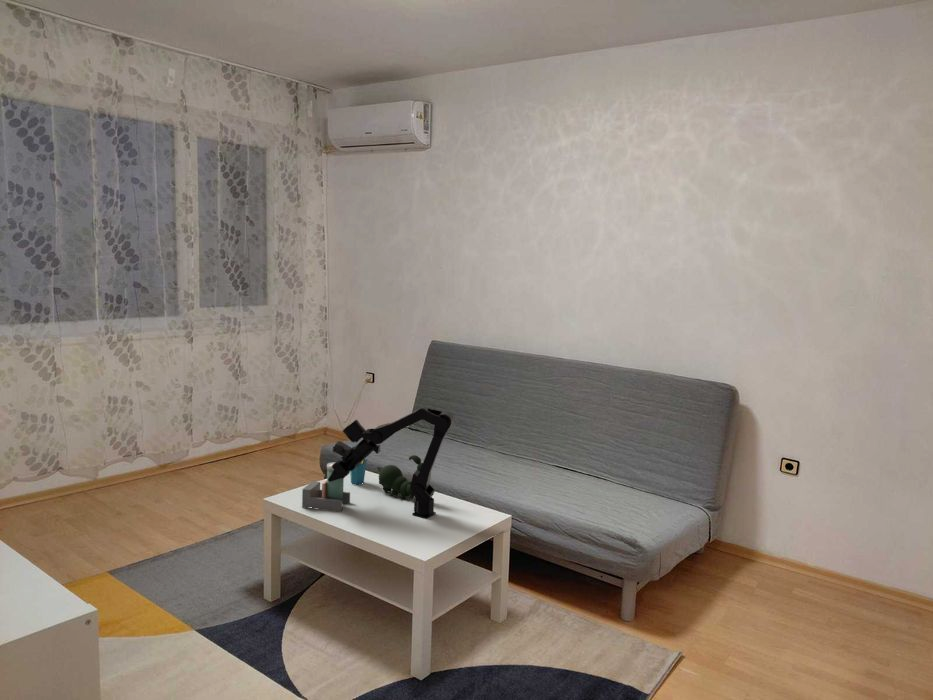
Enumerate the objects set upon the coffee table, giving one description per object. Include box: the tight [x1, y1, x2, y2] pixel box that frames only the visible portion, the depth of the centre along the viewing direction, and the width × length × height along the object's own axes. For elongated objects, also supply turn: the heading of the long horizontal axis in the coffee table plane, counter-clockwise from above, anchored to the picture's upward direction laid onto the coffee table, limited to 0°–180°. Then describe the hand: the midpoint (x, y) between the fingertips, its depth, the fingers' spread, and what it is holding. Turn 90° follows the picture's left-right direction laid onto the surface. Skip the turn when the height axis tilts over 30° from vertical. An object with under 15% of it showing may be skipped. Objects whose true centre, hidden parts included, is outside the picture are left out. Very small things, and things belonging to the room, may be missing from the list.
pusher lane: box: [301, 480, 351, 512], centre depth 253 cm, size 15×10×7 cm, turn 81°
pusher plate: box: [321, 479, 328, 499], centre depth 253 cm, size 1×7×9 cm, turn 172°
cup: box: [348, 445, 368, 486], centre depth 281 cm, size 14×8×15 cm, turn 46°
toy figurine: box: [376, 454, 423, 500], centre depth 268 cm, size 9×19×25 cm
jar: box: [326, 461, 345, 499], centre depth 252 cm, size 6×6×12 cm
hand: (331, 478), depth 252 cm, fingers closed on jar, 6 cm apart
